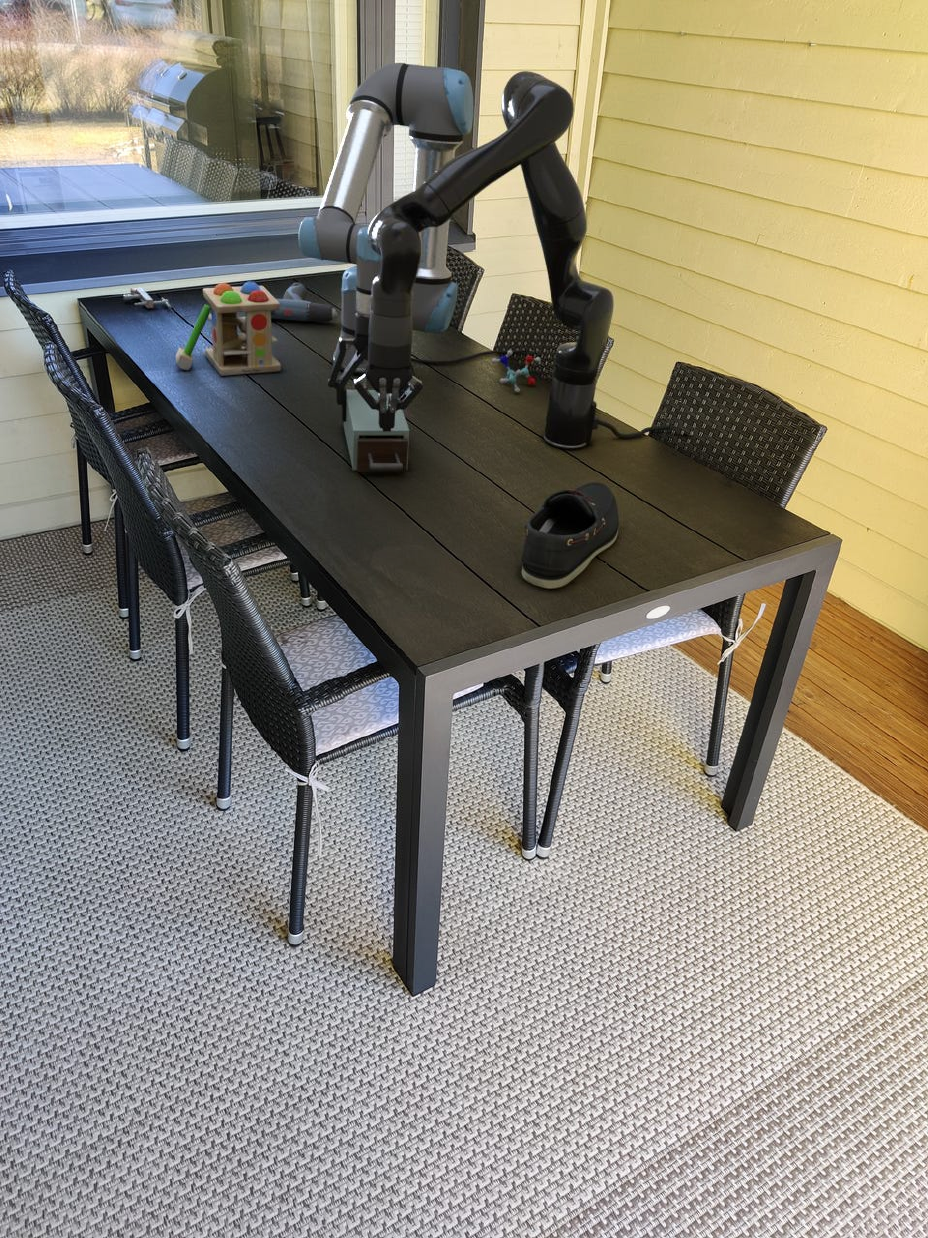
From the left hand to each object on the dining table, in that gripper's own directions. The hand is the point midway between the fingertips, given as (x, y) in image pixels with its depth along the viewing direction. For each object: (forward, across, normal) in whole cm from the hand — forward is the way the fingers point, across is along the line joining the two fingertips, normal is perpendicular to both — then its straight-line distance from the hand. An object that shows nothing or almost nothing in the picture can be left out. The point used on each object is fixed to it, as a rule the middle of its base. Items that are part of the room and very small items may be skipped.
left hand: (371, 419), depth 203 cm
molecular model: (+4, +37, +28) cm, 47 cm away
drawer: (+3, 0, -13) cm, 13 cm away
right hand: (-8, 0, -23) cm, 24 cm away
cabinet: (+4, 0, -6) cm, 7 cm away
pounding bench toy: (+4, -30, +39) cm, 50 cm away
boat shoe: (+4, +30, -47) cm, 56 cm away
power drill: (+4, -9, +80) cm, 80 cm away
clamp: (+4, -51, +84) cm, 98 cm away
